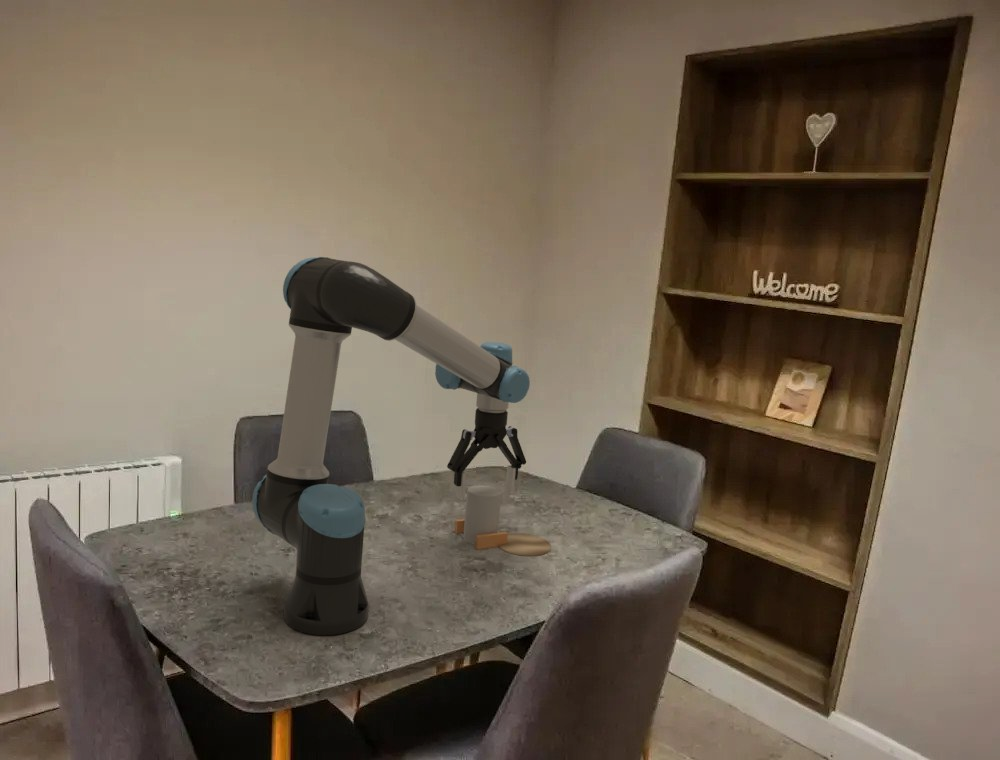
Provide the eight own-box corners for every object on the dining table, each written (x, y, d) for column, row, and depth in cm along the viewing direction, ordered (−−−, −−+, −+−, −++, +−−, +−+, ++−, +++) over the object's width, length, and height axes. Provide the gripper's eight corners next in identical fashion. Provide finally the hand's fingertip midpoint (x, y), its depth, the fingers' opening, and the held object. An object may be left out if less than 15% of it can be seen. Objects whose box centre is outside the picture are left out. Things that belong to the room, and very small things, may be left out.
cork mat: (561, 552, 184) (561, 550, 183) (514, 559, 177) (515, 557, 177) (531, 532, 194) (531, 530, 194) (486, 538, 188) (486, 536, 188)
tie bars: (506, 545, 185) (507, 533, 184) (477, 549, 180) (478, 537, 180) (482, 527, 194) (483, 516, 194) (454, 531, 190) (455, 519, 190)
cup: (498, 534, 191) (503, 487, 189) (495, 546, 183) (499, 498, 181) (465, 530, 192) (469, 483, 190) (460, 542, 184) (465, 494, 182)
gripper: (528, 403, 191) (520, 485, 195) (436, 407, 179) (430, 496, 182) (545, 410, 185) (537, 495, 189) (451, 415, 172) (445, 506, 176)
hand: (485, 495), depth 186 cm, fingers open, 13 cm apart
